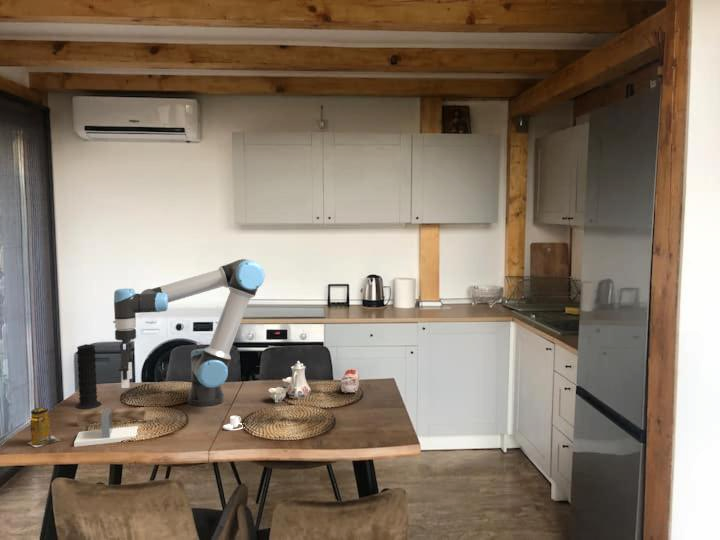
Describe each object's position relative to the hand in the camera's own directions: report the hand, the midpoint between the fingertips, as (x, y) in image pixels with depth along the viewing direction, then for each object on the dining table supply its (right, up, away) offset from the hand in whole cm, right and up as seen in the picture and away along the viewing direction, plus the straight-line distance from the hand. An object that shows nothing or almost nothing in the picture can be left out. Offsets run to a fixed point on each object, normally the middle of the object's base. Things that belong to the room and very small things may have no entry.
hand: (127, 383), depth 226 cm
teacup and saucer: (+40, -16, -5) cm, 43 cm away
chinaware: (+60, -13, +33) cm, 70 cm away
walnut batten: (-5, -16, -1) cm, 17 cm away
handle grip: (-25, -14, +22) cm, 36 cm away
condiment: (-21, -17, -20) cm, 34 cm away
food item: (+86, -12, +42) cm, 96 cm away
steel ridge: (0, -15, -17) cm, 23 cm away
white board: (0, -17, -17) cm, 24 cm away
